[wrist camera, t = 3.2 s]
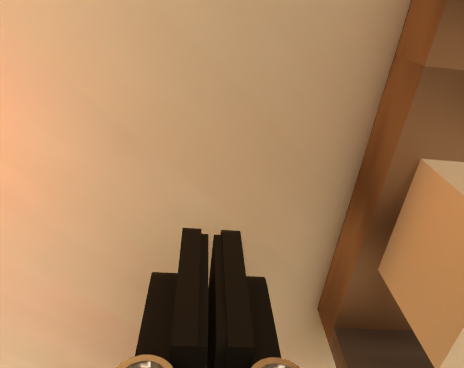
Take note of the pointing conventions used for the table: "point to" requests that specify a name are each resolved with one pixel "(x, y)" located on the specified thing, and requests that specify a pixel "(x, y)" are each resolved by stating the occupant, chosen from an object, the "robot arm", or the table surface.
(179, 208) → the table surface
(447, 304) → the block
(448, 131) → the board
